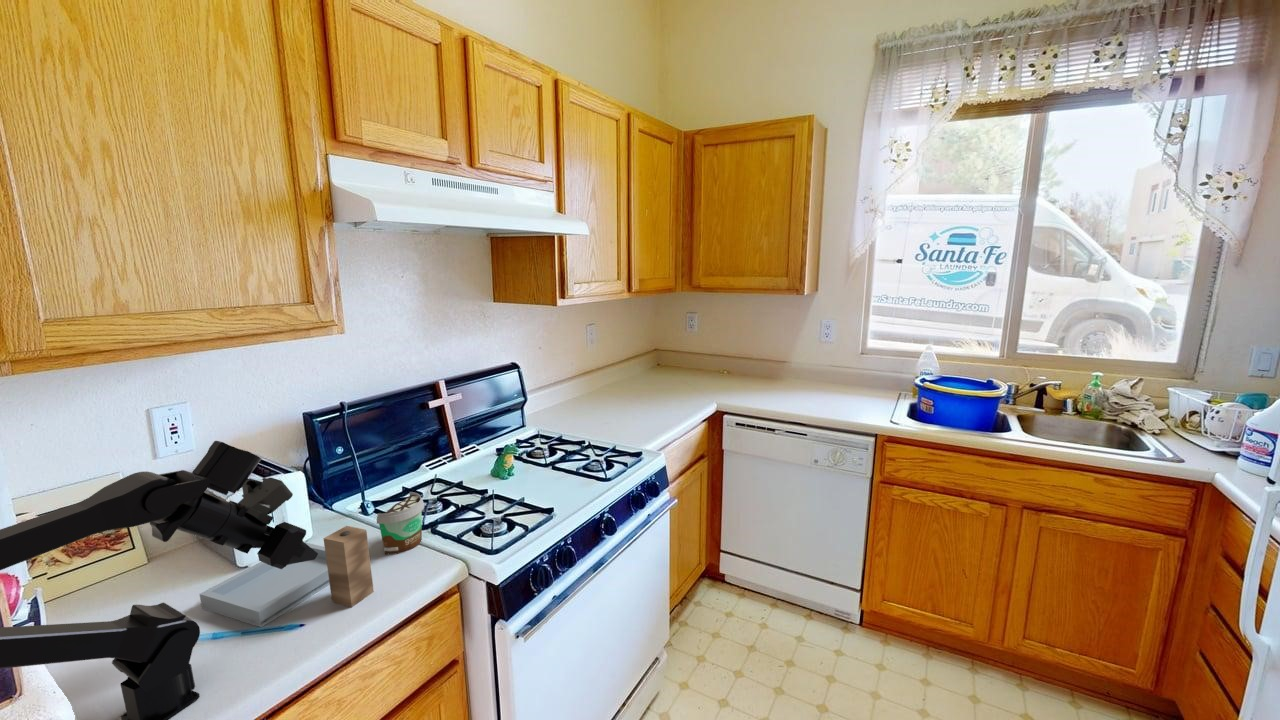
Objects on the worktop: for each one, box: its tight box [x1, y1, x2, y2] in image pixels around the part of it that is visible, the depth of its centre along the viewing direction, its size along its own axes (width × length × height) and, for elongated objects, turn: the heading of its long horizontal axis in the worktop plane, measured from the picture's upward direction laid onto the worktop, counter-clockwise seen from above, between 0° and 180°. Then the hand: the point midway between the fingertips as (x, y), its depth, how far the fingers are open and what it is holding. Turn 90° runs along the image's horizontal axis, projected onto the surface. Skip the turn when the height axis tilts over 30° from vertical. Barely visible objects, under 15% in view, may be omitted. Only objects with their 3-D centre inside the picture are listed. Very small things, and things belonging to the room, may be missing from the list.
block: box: [323, 525, 375, 608], centre depth 101 cm, size 5×5×13 cm
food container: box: [376, 491, 425, 555], centre depth 120 cm, size 12×6×10 cm, turn 168°
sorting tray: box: [199, 541, 330, 628], centre depth 105 cm, size 20×16×3 cm
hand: (300, 550), depth 92 cm, fingers open, 9 cm apart
